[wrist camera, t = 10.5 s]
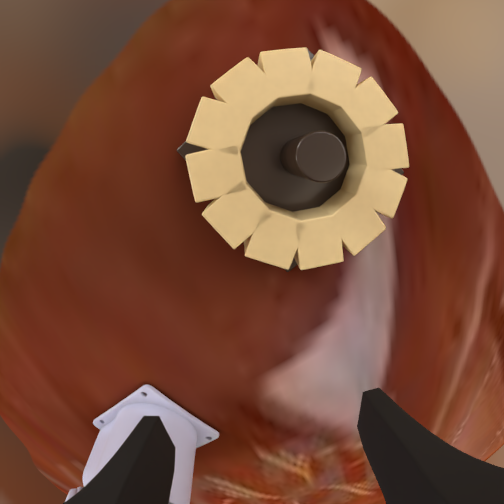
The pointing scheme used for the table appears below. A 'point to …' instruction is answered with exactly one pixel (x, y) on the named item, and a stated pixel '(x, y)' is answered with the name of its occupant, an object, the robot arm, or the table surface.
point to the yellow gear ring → (358, 146)
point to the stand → (293, 157)
